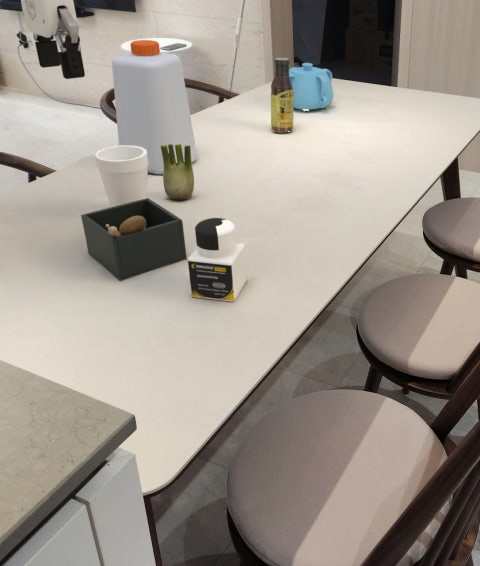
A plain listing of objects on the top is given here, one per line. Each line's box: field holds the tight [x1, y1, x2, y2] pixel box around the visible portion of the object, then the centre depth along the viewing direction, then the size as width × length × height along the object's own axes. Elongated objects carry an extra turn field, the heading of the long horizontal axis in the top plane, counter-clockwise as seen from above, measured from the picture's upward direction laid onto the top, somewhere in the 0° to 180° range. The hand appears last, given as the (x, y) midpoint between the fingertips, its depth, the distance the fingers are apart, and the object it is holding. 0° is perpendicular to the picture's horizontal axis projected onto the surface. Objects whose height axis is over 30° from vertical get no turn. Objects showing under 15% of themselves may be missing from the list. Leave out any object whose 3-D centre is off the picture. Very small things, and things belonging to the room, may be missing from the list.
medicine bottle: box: [187, 217, 248, 303], centre depth 102 cm, size 7×7×12 cm
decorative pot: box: [289, 62, 334, 110], centre depth 201 cm, size 16×16×14 cm
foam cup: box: [94, 145, 149, 207], centre depth 124 cm, size 10×9×13 cm
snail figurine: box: [106, 216, 146, 237], centre depth 106 cm, size 5×6×12 cm
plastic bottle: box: [111, 39, 198, 175], centre depth 147 cm, size 15×15×28 cm
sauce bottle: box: [270, 57, 294, 133], centre depth 176 cm, size 7×6×20 cm
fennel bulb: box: [161, 144, 195, 201], centre depth 133 cm, size 6×5×12 cm
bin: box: [80, 197, 188, 281], centre depth 111 cm, size 12×12×8 cm
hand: (62, 71), depth 103 cm, fingers open, 9 cm apart
